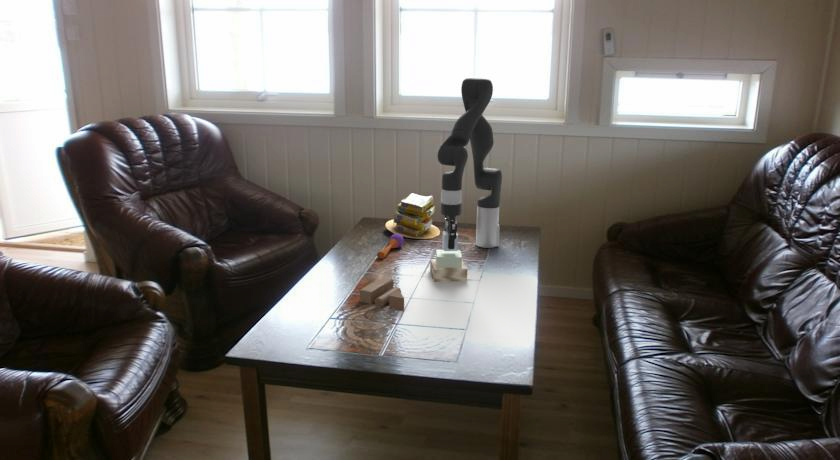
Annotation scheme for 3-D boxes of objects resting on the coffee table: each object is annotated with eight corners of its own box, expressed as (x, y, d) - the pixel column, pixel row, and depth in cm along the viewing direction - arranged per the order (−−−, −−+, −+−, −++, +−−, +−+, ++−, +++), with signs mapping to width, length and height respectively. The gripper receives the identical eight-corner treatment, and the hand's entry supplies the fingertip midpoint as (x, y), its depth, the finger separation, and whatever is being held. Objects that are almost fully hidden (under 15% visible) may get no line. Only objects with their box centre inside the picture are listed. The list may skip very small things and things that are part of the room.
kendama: (372, 248, 261) (391, 232, 279) (375, 262, 263) (394, 245, 280) (386, 247, 259) (404, 231, 277) (389, 262, 261) (406, 244, 278)
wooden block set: (357, 287, 216) (385, 272, 231) (357, 303, 217) (385, 287, 233) (402, 296, 208) (428, 280, 224) (402, 313, 210) (428, 295, 225)
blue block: (455, 246, 243) (455, 231, 242) (457, 250, 239) (458, 235, 237) (442, 247, 243) (442, 231, 241) (444, 251, 238) (444, 235, 236)
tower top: (459, 260, 247) (460, 249, 246) (461, 267, 238) (462, 257, 237) (436, 259, 247) (436, 249, 246) (436, 267, 238) (437, 257, 237)
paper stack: (450, 231, 302) (451, 195, 297) (419, 243, 282) (419, 205, 278) (407, 222, 316) (407, 188, 311) (374, 233, 296) (374, 197, 291)
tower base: (461, 271, 250) (461, 258, 249) (466, 282, 239) (467, 269, 237) (430, 271, 249) (430, 259, 247) (434, 282, 237) (434, 269, 236)
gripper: (465, 206, 229) (463, 252, 234) (458, 196, 243) (456, 240, 248) (443, 206, 229) (442, 252, 233) (438, 196, 242) (437, 241, 247)
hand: (450, 246), depth 241 cm, fingers closed on blue block, 5 cm apart
